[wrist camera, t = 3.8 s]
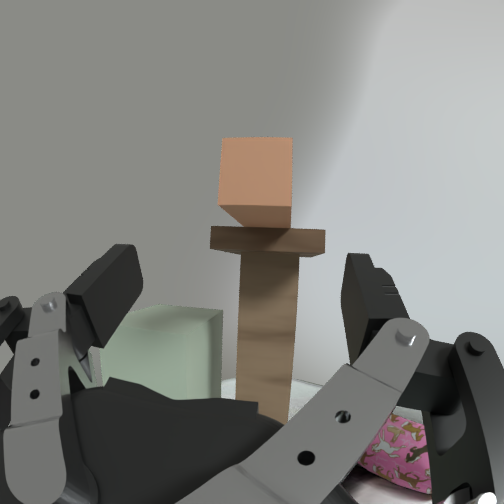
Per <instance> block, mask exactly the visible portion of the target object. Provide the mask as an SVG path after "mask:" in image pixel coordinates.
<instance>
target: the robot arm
mask: <svg viewBox="0 0 504 504" xmlns="http://www.w3.org/2000/svg"><path fill="white" fill-rule="evenodd" d="M142 289H143V277H142V273H141V269H140V264H139V260H138V256H137V251H136V248H135V246H134V245H130V244H115V245H114V246H113V247H112V248H110V249H109V250H108V251H107V253H105V254H104V255H103V256H102V257H101V258H99V259H97V260H96V261H94V262H93V263H92V264H91V265H90V266H89V267H88V268H87V270H85V271H84V272H83V273H82V274H81V276H79V277H78V278H77V279H76V280H75V281H74V282H73V283H72V284H71V285H70V286H69V287H68V288H67V289H66V290H65V291H64V292H63V293H60V292H52V293H49V294H46V295H44V296H42V297H41V298H39V299H38V300H37V301H36V302H35V303H34V305H33V307H31V308H22V305H21V303H20V301H19V299H18V298H17V297H15V296H9V297H6V298H4V299H2V300H0V346H1V344H2V343H3V342H4V340H5V341H6V342H7V344H8V345H9V347H10V349H11V351H12V352H13V354H14V356H13V357H12V358H11V360H10V361H9V363H8V364H7V366H6V367H5V368H4V370H3V371H2V373H1V374H0V504H358V503H357V502H356V501H355V500H354V499H353V497H352V496H351V495H350V494H349V493H348V492H347V491H346V490H345V489H344V488H343V487H342V485H341V482H342V481H343V480H344V479H345V478H346V476H347V475H348V474H349V473H350V471H351V470H352V469H353V468H354V466H355V465H356V464H357V462H358V461H359V460H360V459H361V457H362V456H363V454H364V453H365V452H366V450H367V449H368V448H369V446H370V445H371V443H372V442H373V441H374V439H375V438H376V436H377V435H378V433H379V432H380V430H381V429H382V427H383V426H384V424H385V423H386V421H387V420H388V418H389V417H390V415H391V414H392V412H393V410H394V409H395V407H396V406H401V407H405V408H411V409H416V410H421V412H422V417H423V423H424V429H425V436H426V443H427V450H428V458H429V467H430V476H431V488H432V504H504V369H503V366H502V364H501V362H500V359H499V357H498V355H497V353H496V351H495V349H494V347H493V345H492V344H491V343H490V341H489V340H487V339H486V338H485V337H484V336H482V335H480V334H477V333H474V332H465V333H462V334H461V335H459V336H458V337H457V339H456V341H455V343H454V344H449V343H444V342H439V341H434V340H431V339H429V334H428V332H427V330H426V329H425V328H424V327H423V326H422V325H421V324H419V323H418V322H416V321H414V320H411V319H410V318H409V315H408V313H407V311H406V308H405V306H404V304H403V302H402V299H401V297H400V295H399V293H398V290H397V288H396V287H395V284H394V282H393V279H392V277H391V276H390V275H389V274H388V273H387V272H386V271H385V270H384V269H382V268H375V267H374V265H373V263H372V260H371V258H370V256H369V254H360V253H348V255H347V258H346V264H345V271H344V277H343V284H342V290H341V309H342V314H343V320H344V327H345V333H346V339H347V345H348V352H349V358H350V365H349V364H344V365H343V366H342V367H341V368H340V369H339V370H338V371H337V372H336V373H335V374H334V375H333V377H332V378H331V379H330V380H329V381H328V382H327V383H326V384H325V385H324V386H323V387H322V388H321V389H320V390H319V392H318V393H317V394H316V395H315V396H314V397H313V398H312V399H311V400H310V401H309V402H308V403H307V404H306V405H305V406H304V407H303V408H302V409H301V410H300V411H299V412H298V413H297V414H296V415H295V416H294V417H293V418H292V419H291V420H289V421H288V422H287V423H286V424H285V425H284V424H282V423H281V422H279V421H277V420H275V419H273V418H270V417H268V416H265V415H262V414H259V403H258V402H254V401H243V400H233V399H225V398H204V399H186V400H175V399H171V398H169V397H166V396H164V395H162V394H160V393H158V392H156V391H154V390H152V389H150V388H147V387H145V386H143V385H141V384H138V383H134V382H129V381H125V380H121V379H117V378H113V377H109V379H108V380H107V382H106V384H105V386H103V387H97V383H96V378H95V372H94V366H93V361H92V355H91V353H90V351H89V348H90V347H91V346H94V347H99V348H103V349H104V347H105V346H106V344H107V343H108V341H109V340H110V338H111V337H112V335H113V334H114V332H115V331H116V329H117V328H118V326H119V325H120V323H121V322H122V320H123V319H124V317H125V316H126V314H127V313H128V311H129V310H130V308H131V307H132V305H133V304H134V303H135V301H136V300H137V298H138V297H139V295H140V294H141V292H142ZM10 422H11V424H10V426H9V427H8V425H9V423H10Z"/></svg>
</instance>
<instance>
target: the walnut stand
mask: <svg viewBox="0 0 504 504" xmlns="http://www.w3.org/2000/svg"><path fill="white" fill-rule="evenodd" d="M210 249H215V250H220V251H225V252H230V253H235V254H240V255H241V265H240V290H239V291H240V292H239V314H238V339H237V340H238V341H237V367H236V368H237V369H236V397H235V400H243V401H254V402H258V403H259V414H262V415H265V416H268V417H270V418H273V419H275V420H277V421H279V422H281V423H282V424H284V425H285V424H286V423H287V421H288V411H289V401H290V391H291V380H292V369H293V356H294V343H295V329H296V314H297V297H298V296H297V295H298V277H299V257H313V256H316V255H320V254H323V253H325V230H319V229H294V228H266V227H231V226H230V227H229V226H211V238H210Z"/></svg>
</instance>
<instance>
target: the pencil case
mask: <svg viewBox="0 0 504 504" xmlns="http://www.w3.org/2000/svg"><path fill="white" fill-rule="evenodd" d="M357 463H358V464H359V465H361V466H362V467H364V468H366V469H367V470H368V471H370V472H372V473H374V474H376V475H378V476H380V477H382V478H384V479H386V480H388V481H390V482H392V483H394V484H397V485H400V486H403V487H406V488H409V489H412V490H416V491H419V492H423V493H427V494H432V488H431V476H430V467H429V458H428V450H427V443H426V436H425V429H424V425H423V424H419V423H416V422H413V421H410V420H407V419H405V418H402V417H400V416H397V415H394V414H391V415H390V417H389V418H388V420H387V421H386V423H385V424H384V426H383V427H382V429H381V430H380V432H379V433H378V435H377V436H376V438H375V439H374V441H373V442H372V443H371V445H370V446H369V448H368V449H367V450H366V452H365V453H364V454H363V456H362V457H361V459H360V460H359V461H358V462H357Z"/></svg>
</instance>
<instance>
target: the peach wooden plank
mask: <svg viewBox="0 0 504 504" xmlns="http://www.w3.org/2000/svg"><path fill="white" fill-rule="evenodd" d="M218 205H219V206H220V207H221V208H223V209H224V210H225V211H226V212H227V213H228V214H230V215H231V216H232V217H233V218H235V219H236V220H237V221H238V222H239V223H240V224H242V225H243V226H244V227H266V228H291V205H292V138H281V137H245V138H244V137H243V138H223V140H222V152H221V165H220V179H219V195H218Z"/></svg>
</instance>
